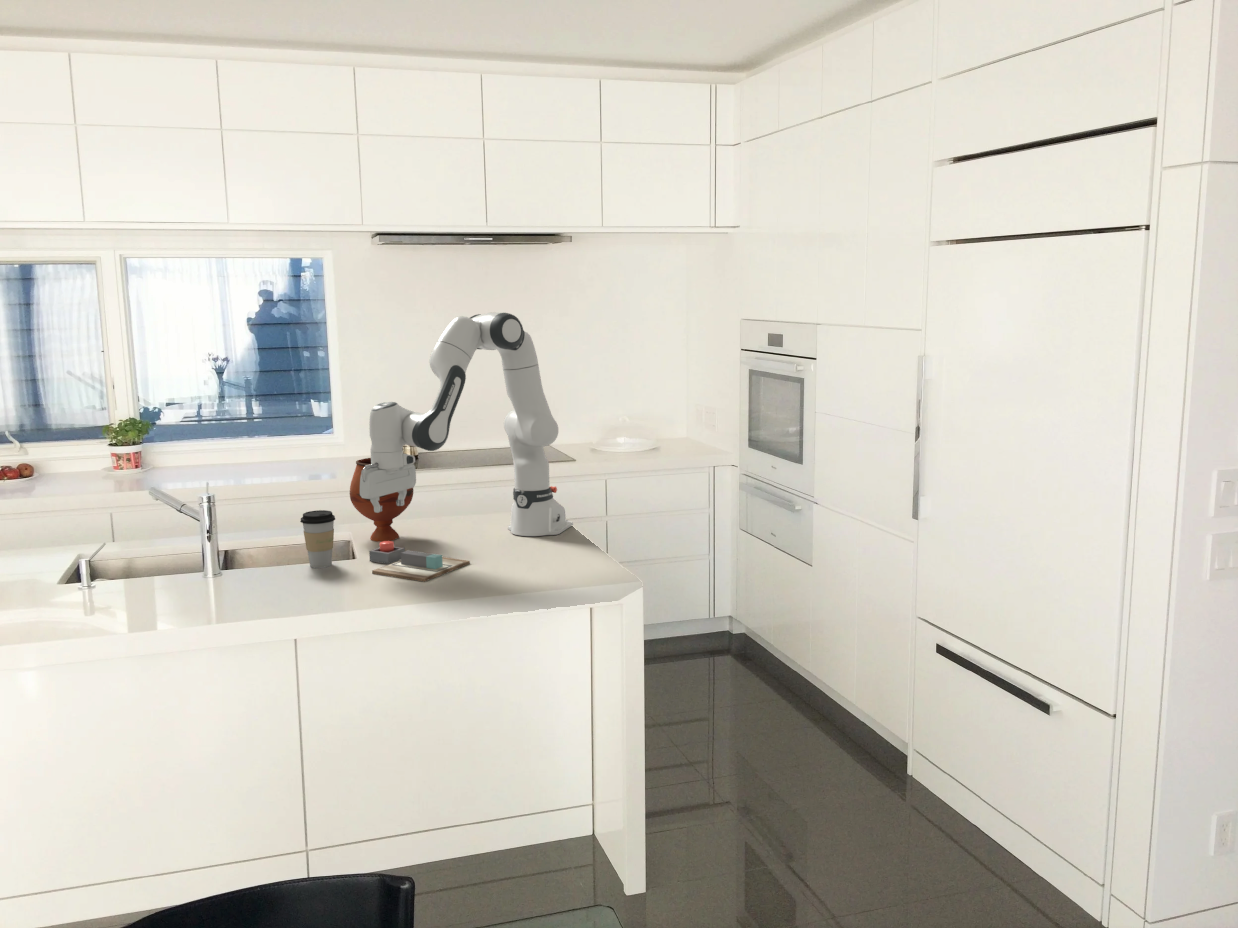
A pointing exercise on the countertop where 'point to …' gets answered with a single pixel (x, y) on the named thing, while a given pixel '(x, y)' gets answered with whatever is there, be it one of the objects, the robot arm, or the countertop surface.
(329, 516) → the coffee cup
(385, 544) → the button
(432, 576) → the drawing board
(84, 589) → the countertop surface
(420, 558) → the block
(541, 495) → the robot arm
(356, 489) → the goblet
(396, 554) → the button housing
